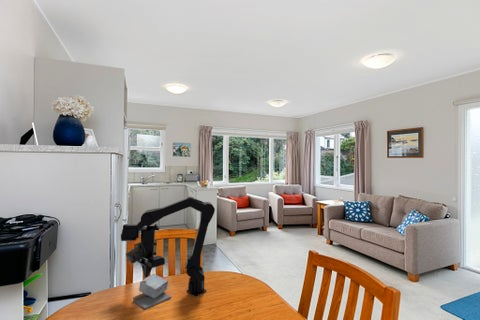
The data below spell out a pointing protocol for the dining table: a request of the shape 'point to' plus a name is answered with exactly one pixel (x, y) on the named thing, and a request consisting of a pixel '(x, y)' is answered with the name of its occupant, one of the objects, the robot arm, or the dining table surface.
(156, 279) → the medicine box
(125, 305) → the dining table surface
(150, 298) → the mat
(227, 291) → the dining table surface
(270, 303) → the dining table surface
